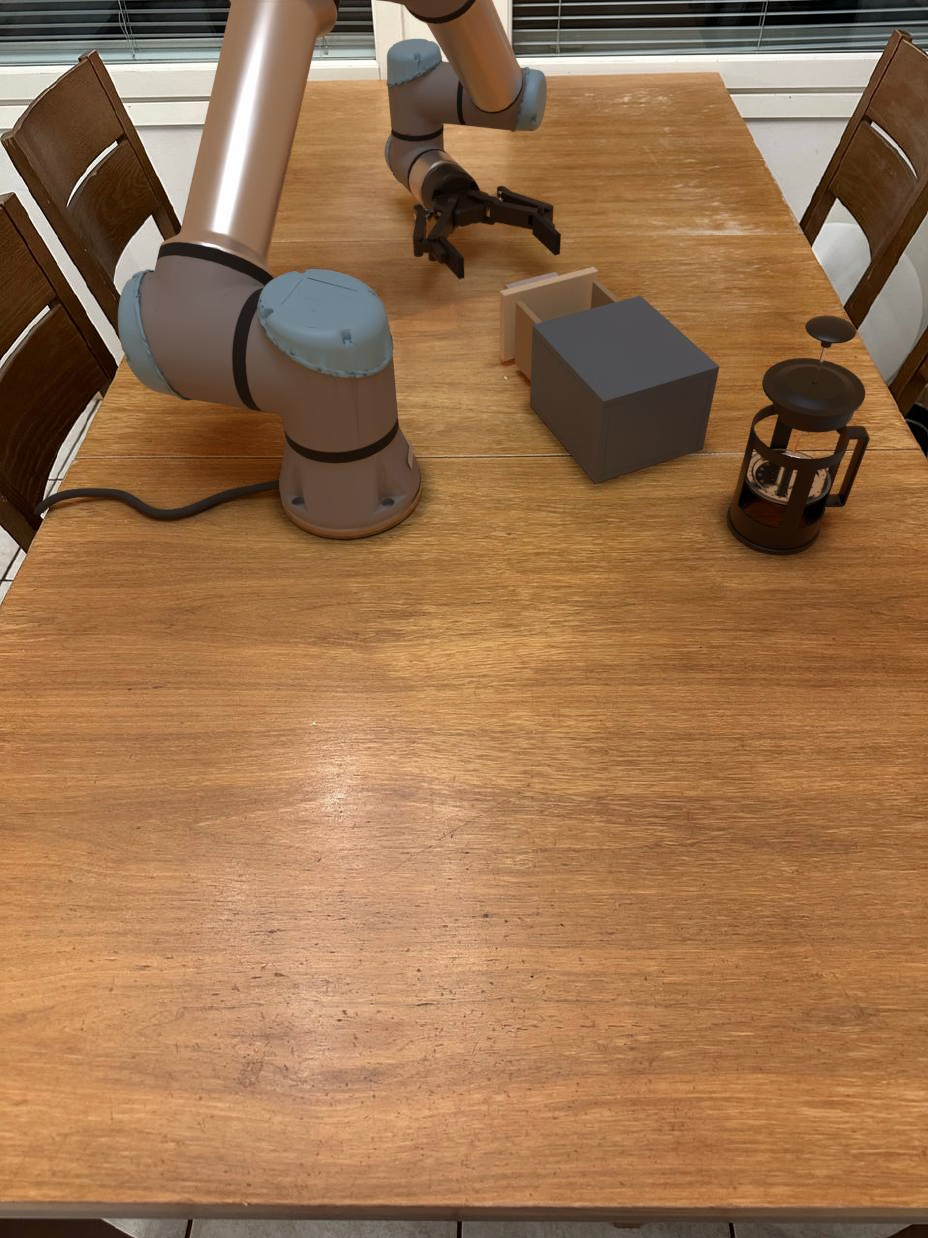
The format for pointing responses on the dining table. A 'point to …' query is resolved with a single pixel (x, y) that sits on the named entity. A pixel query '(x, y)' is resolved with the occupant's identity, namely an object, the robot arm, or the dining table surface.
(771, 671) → the dining table surface
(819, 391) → the french press
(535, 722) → the dining table surface
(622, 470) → the cabinet
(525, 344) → the drawer
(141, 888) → the dining table surface
